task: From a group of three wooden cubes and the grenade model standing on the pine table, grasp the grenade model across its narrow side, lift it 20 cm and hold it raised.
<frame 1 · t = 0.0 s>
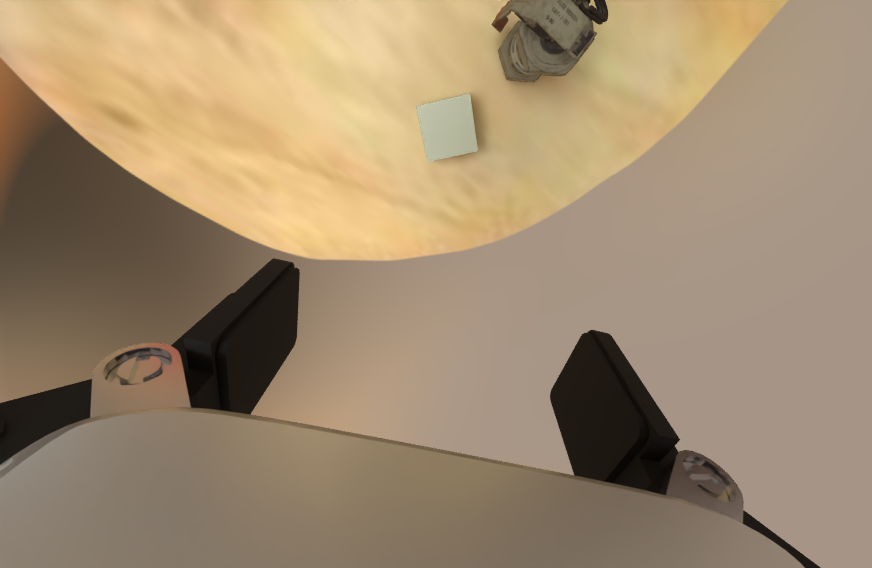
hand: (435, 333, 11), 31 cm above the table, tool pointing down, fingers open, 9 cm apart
grenade model: (522, 38, 33), on the table
sage cube: (448, 125, 37), on the table
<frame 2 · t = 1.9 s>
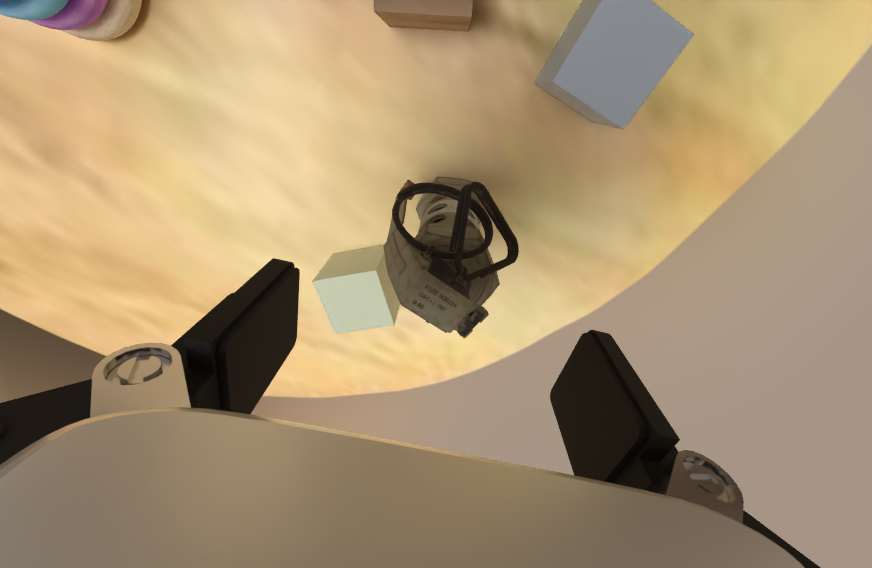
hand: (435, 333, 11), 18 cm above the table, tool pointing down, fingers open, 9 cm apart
slate blue cube: (588, 65, 22), on the table
grenade model: (447, 188, 27), on the table
sage cube: (368, 273, 31), on the table
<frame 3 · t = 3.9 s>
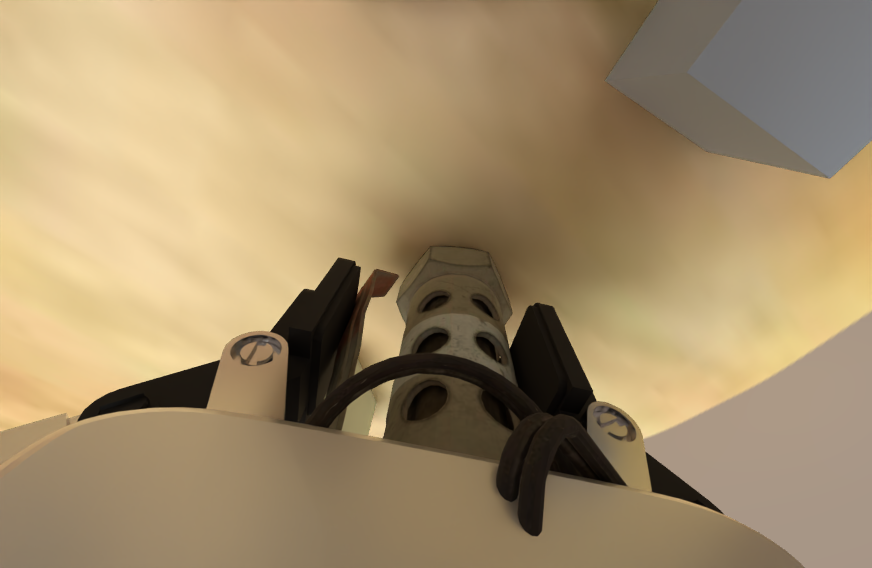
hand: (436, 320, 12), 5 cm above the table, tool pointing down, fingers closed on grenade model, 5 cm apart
slate blue cube: (711, 45, 12), on the table
grenade model: (448, 261, 16), on the table, touching gripper
sage cube: (323, 376, 20), on the table
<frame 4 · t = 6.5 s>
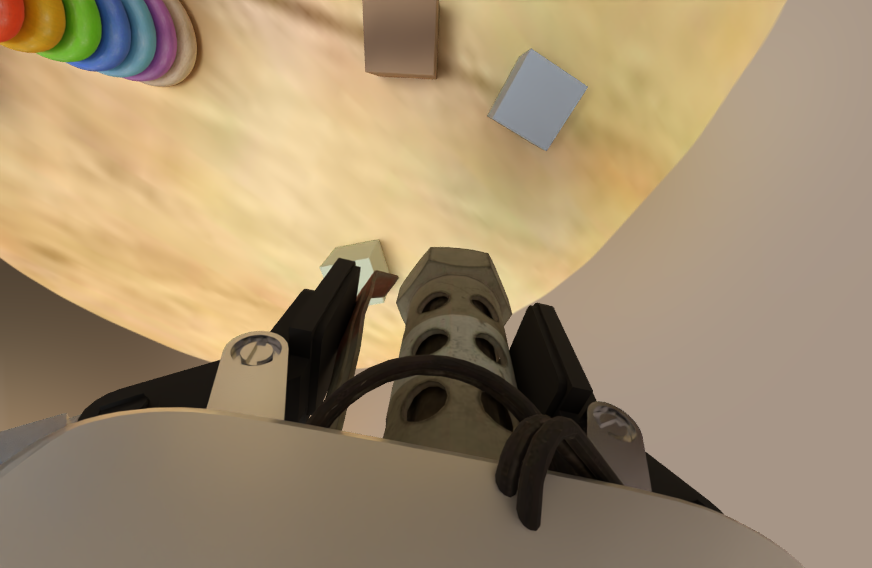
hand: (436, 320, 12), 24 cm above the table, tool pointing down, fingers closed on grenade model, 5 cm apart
stacking toy: (155, 33, 29), on the table
slate blue cube: (526, 102, 30), on the table
grenade model: (448, 262, 16), point 19 cm above the table, touching gripper
walnut cube: (407, 42, 28), on the table
sage cube: (364, 264, 38), on the table
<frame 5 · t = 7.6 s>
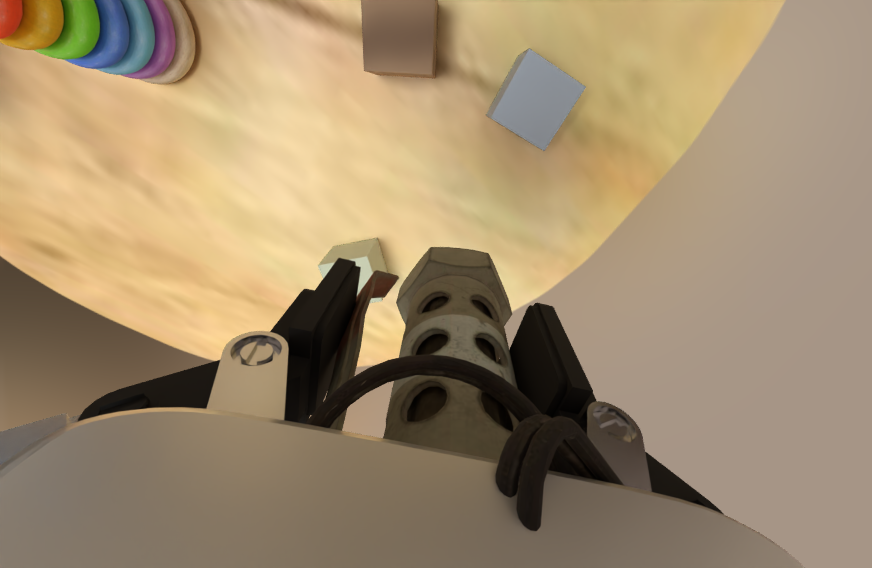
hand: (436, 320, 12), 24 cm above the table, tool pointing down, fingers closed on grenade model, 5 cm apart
stacking toy: (153, 30, 29), on the table
slate blue cube: (525, 102, 30), on the table
grenade model: (448, 262, 16), point 19 cm above the table, touching gripper
walnut cube: (406, 41, 28), on the table
sage cube: (362, 262, 38), on the table
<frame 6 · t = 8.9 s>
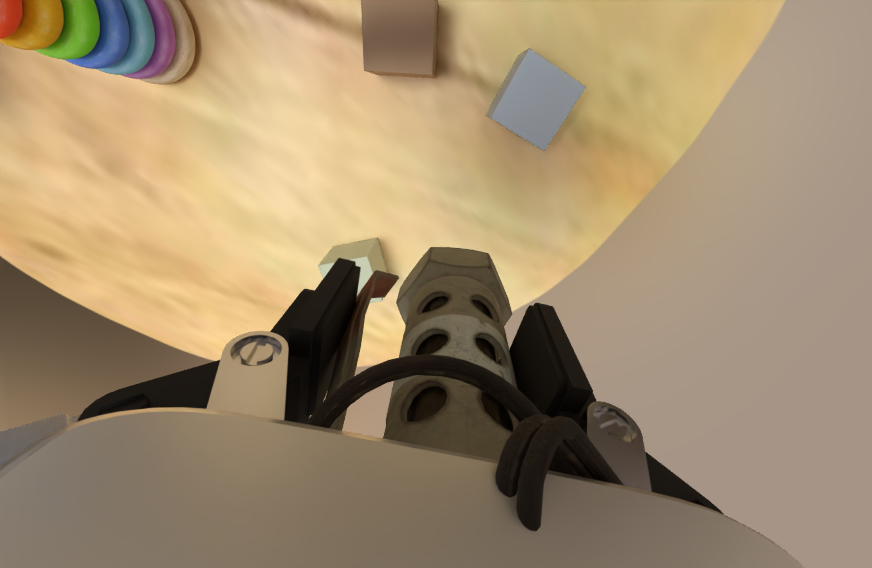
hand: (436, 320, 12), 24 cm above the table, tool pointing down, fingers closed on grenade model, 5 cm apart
stacking toy: (153, 30, 29), on the table
slate blue cube: (525, 102, 30), on the table
grenade model: (448, 262, 16), point 19 cm above the table, touching gripper
walnut cube: (406, 41, 28), on the table
sage cube: (362, 262, 38), on the table
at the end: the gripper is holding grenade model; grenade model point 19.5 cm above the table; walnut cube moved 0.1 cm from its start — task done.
